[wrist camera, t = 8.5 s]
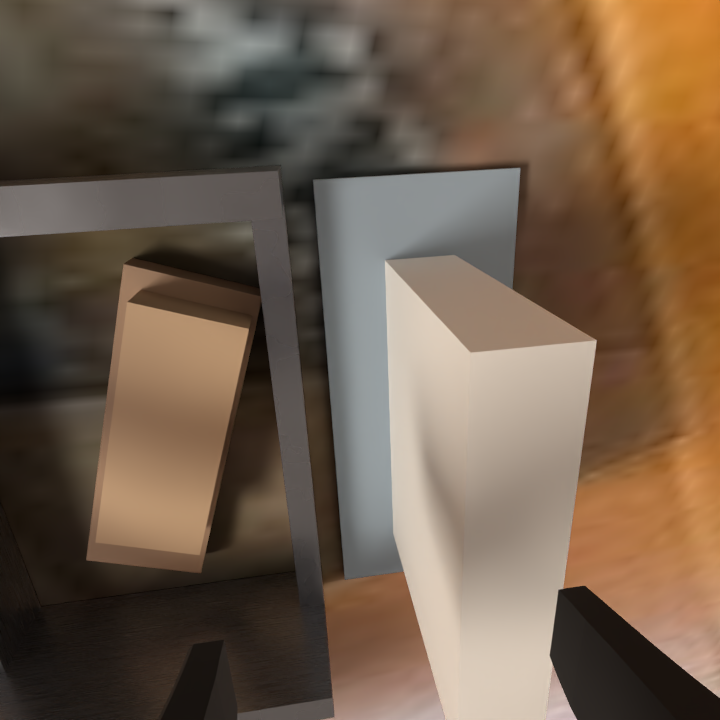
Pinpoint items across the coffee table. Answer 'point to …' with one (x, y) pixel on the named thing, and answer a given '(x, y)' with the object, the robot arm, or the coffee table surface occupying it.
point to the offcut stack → (169, 414)
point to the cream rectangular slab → (483, 476)
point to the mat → (369, 319)
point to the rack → (191, 603)
